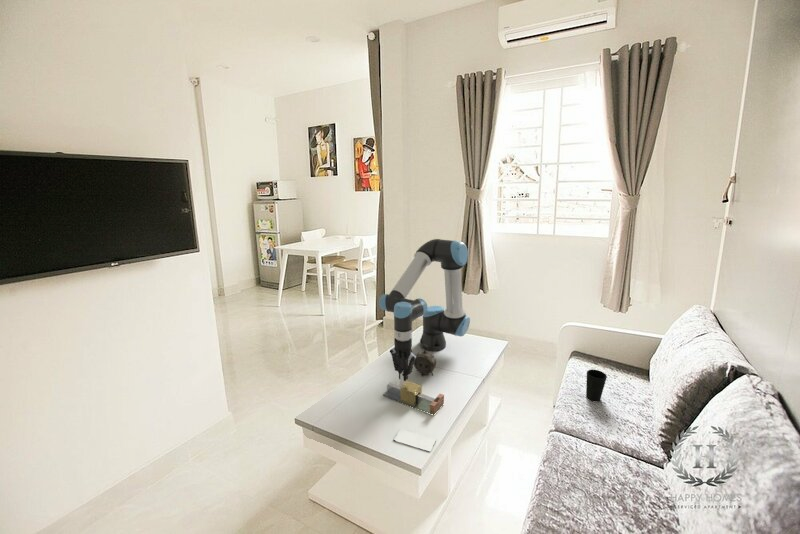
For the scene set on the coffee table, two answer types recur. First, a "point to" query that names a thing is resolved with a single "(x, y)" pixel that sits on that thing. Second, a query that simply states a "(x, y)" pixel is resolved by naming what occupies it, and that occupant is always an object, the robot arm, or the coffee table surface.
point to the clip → (410, 392)
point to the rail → (416, 399)
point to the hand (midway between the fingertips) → (403, 386)
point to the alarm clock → (425, 362)
